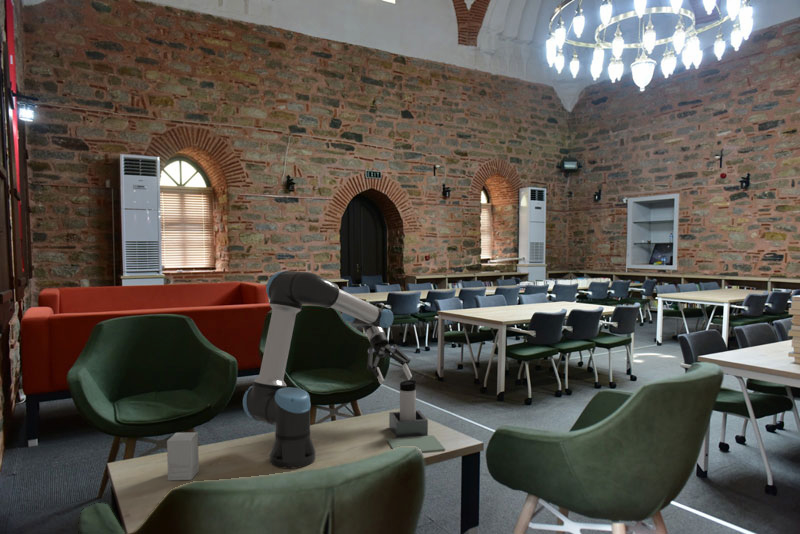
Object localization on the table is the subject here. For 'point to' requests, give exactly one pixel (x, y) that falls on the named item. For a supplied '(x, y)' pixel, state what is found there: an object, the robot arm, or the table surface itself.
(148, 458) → the table surface
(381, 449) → the table surface
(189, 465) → the supplement box
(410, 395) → the travel mug
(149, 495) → the table surface
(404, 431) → the sleeve
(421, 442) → the mat
